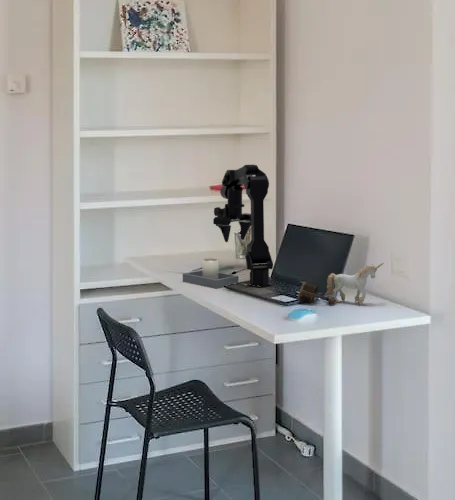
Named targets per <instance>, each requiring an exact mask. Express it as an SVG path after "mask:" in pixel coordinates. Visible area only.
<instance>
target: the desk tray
mask: <svg viewBox="0 0 455 500" xmlns="http://www.w3.org/2000/svg"><path fill="white" fill-rule="evenodd" d="M182 282H183V283H189V284H193V285H198V286H202V287H208V288H213V289H220V288H225V287H224V286H225V285H229V284H234V283H238V284H239V275H235V274H232V273H231V274H230V273H225V272H219V271H218V279H217V280H215V279H210V278H205V277H202V269H201V270H200V269H199V270H196V271H194V270H193V271H188V272H186V273H185V272H184V273H182Z"/></svg>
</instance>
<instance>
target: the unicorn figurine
mask: <svg viewBox="0 0 455 500" xmlns="http://www.w3.org/2000/svg"><path fill="white" fill-rule="evenodd" d="M383 265H384V262H382V263H380V264H378V265H377V266H375V265H374V264H373V263H372V264H370V265H366V266H364V267H362V268H360V269H359V270H358V271H357V272H356V274H353V275H349V274H345V273H338V274H335V273H334V272H332V273H330V274H329V275H328V276H327V279H326V281H327V283H326V284H327V285H326V288H327V289H326V292H325V293H324V296H330V295H331V297H334V298H335V300H336V301H335V304H340V303H341V302H340V301H339V299H338V298H337V292H339V296H340V298H341V301H342V302H345V300H346V293H345V292H344V291H343V290H342V288H343V287H345V288H348V289H352V290H353V289H355V290H356V289H357V291H356V295H355V296H354V302H355V303H356V302H357V303H358V305H359V306H361V305H363V303H364V301H365V298H366V295H367V293H366V291H365V287H366V285H367V280H368V277H369V275H370V279H375V278H376V272H377V271H378V269H379V268H380V267H382V266H383ZM360 294H362V296H361V297H360Z"/></svg>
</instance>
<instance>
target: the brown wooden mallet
mask: <svg viewBox="0 0 455 500" xmlns="http://www.w3.org/2000/svg"><path fill="white" fill-rule="evenodd" d="M298 291H299V293H298V297H297V299H296V300H297V301H303V302H306V303H308V304H312V303H313V302H314V300H315V298H317V299H320V300H323V301H326V302H328V304H329V305H330V306H333V305H335V304H336V302H335V301H336V300H335V298H334V297H332V296H331V297H327V296H326V295H322V294H319V293H317V292H318V285H316V284H313V283H310V282H307V281H303V282H302V284H301V285H300V288H299V290H298Z"/></svg>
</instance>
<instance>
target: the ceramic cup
mask: <svg viewBox="0 0 455 500" xmlns="http://www.w3.org/2000/svg"><path fill="white" fill-rule="evenodd" d="M201 262H202V264H201V267H202V269H201V270H202V277H205V278H210V279H215V280H217V279H218V272H219V259H217V258H212V257H209V258H203V259H202V261H201Z"/></svg>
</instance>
